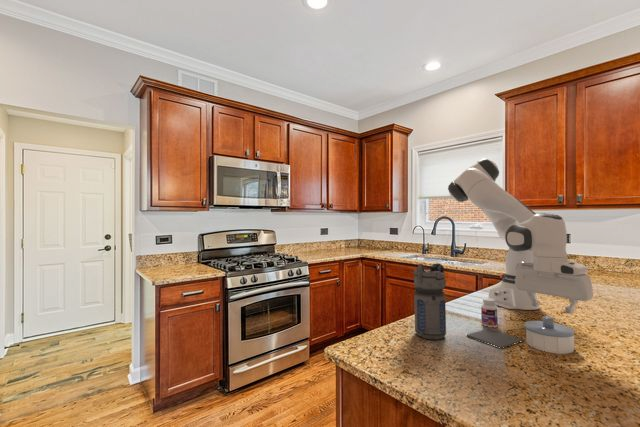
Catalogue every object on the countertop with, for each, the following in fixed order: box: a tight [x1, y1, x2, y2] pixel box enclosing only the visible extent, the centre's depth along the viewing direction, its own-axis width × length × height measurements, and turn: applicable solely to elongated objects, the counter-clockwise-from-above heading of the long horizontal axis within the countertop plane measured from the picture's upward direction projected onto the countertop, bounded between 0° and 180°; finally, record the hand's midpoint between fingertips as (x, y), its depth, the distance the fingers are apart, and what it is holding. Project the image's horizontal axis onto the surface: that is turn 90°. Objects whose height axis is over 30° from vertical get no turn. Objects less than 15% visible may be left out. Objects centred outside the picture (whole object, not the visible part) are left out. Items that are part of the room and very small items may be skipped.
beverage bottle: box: [413, 262, 447, 341], centre depth 109 cm, size 10×13×25 cm
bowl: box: [525, 328, 575, 355], centre depth 98 cm, size 12×12×5 cm
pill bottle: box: [480, 297, 499, 328], centre depth 118 cm, size 5×5×10 cm
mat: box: [466, 328, 525, 349], centre depth 105 cm, size 12×12×1 cm
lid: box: [523, 315, 575, 337], centre depth 98 cm, size 13×13×4 cm
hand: (551, 309), depth 98 cm, fingers open, 8 cm apart
